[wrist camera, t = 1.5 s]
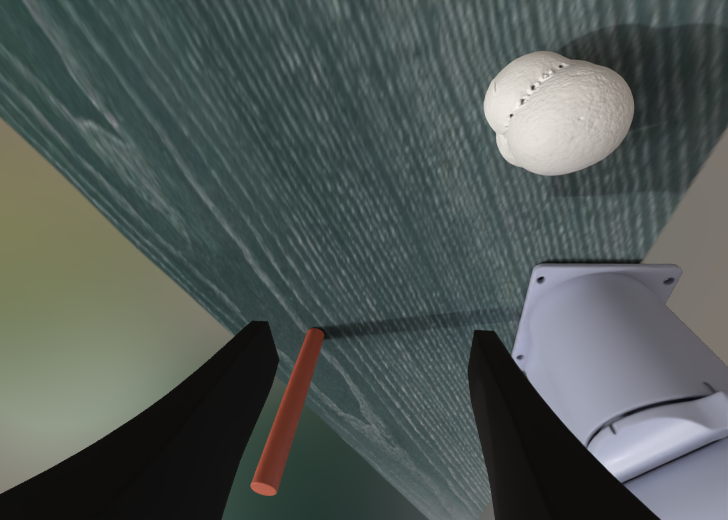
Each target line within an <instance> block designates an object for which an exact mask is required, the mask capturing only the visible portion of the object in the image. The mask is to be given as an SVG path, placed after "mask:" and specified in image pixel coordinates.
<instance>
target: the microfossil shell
mask: <svg viewBox="0 0 728 520" xmlns="http://www.w3.org/2000/svg"><path fill="white" fill-rule="evenodd" d="M484 112H485V117H486V119H487V121H488V123H489V124H490V126H491V127H492V129H493V130H494V131H495V132H496V141H497V146H498V148H499V151H500V152H501V155H502V156H503V157H504V158H505V159H506V160H507V161H508V162H509V163H511V164H513V165H515V166H518V167H523V168H525V169H526V170H528V171H530V172H533V173H536V174H540V175H550V176H551V175H562V174H567V173H571V172H575V171H578V170H581V169H584V168H586V167H589V166H591V165H593V164H595V163H597V162H599V161H601V160H603V159H604V158H605V157H607V156H608V155H609V154H610V153H612V152H613V151H614V150H615V149H616V148H617V147H618V146H619V145H620V144H621V142H622V141H623V139H624V138H625V136H626V135H627V133H628V131H629V128H630V125H631V122H632V118H633V114H634V100H633V96H632V93H631V90H630V88H629V86H628V84H627V83H626V82H625V80H624V79H623V78H622V77H621V76H620V75H619V74H618V73H616V72H615V71H613V70H611V69H609V68H607V67H603V66H599V65H595V64H593V63H590V62H587V61H582V60H570V59H568V58H566V57H564V56H562V55H560V54H557V53H554V52H550V51H538V52H533V53H529V54H526V55H524V56H522V57H519V58H517V59H515V60H513V61H512V62H511V63H510V64H508V65H507V66H506V67H505V68H503V70H501V71H500V73H499V74H498V75H497V76H496V77H495V78H494V79H493V80H492V82H491V83H490V86H489V88H488V91H487V93H486V97H485V100H484Z"/></svg>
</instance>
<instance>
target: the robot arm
mask: <svg viewBox="0 0 728 520" xmlns="http://www.w3.org/2000/svg"><path fill="white" fill-rule="evenodd" d="M681 274H682V270H681V268H680V267H678V266H677V265H675V264H539V265H537V266H535V267H534V269H533V272H532V276H531V280H530V284H529V288H528V292H527V296H526V300H525V304H524V308H523V312H522V316H521V320H520V324H519V328H518V332H517V336H516V340H515V344H514V348H513V352H512V356H511V355H510V354H509V352H508V351H507V349H506V348H505V346H504V345H503V343H502V341H501V340H500V338H499V337H498V335H497V334H496V333H495V332H494V331H486V330H474V335H473V341H472V347H471V353H470V359H469V365H468V380H469V389H470V397H471V403H472V408H473V412H474V416H475V421H476V425H477V429H478V434H479V438H480V442H481V447H482V451H483V455H484V460H485V464H486V468H487V472H488V478H489V483H490V488H491V494H492V501H493V508H494V515H495V520H728V366H727V365H725V363H723V361H722V360H720V359H719V357H717V356H716V355H715V354H714V353H713V352H712V351H711V350H710V349H709V348H708V347H707V346H706V345H705V344H704V343H703V342H702V341H701V340H700V339H699V338H698V337H697V336H696V335H695V334H694V333H693V332H692V331H691V330H690V329H689V328H688V327H687V326H686V325H685V324H684V323H683V322H682V321H681V320H680V319H679V318H678V317H677V316H676V315H675V314H674V313H673V312H672V311H671V310H670V309H669V308H668V307H667V306H666V305H665V303H666V302H667V300H668V298H669V296H670V294H671V293H672V291H673V289H674V287H675V285H676V283H677V282H678V280H679V278H680V276H681ZM539 277H543V278H542V279H541V280H537V279H538V278H539ZM667 278H669V279H668V280H666V279H667ZM665 280H666V281H665ZM519 355H520V356H519ZM278 363H279V357H278V354H277V350H276V347H275V344H274V340H273V337H272V333H271V330H270V327H269V323H268V321H251V322H250V323H249V324H248V325H247V326H246V327H244V328H243V329H242V330H241V331H240V332H239V333H238V334H237V335H236V336H235V337H234V338H233V339H232V340H230V341H229V342H228V343H227V344H226V345H225V346H224V347H223V348H221V349H220V350H219V351H218V352H217V353H216V354H215V355H214V356H213V357H211V359H209V360H208V361H207V362H206V363H205V364H203V365H202V366H201V367H200V368H199V369H198V370H196V371H195V372H194V373H193V374H191V375H190V376H189V377H188V378H186V379H185V380H184V381H183V382H182V383H181V384H179V385H178V386H177V387H176V388H174V389H173V390H172V391H170V392H169V393H168V394H167V395H165V396H164V397H163V398H161V399H160V400H158V401H157V402H156V403H154V404H153V405H151V406H150V407H149V408H148V409H146V410H145V411H143V412H142V413H140V414H139V415H137V416H136V417H134V418H133V419H131V420H130V421H128V422H127V423H125V424H123V425H122V426H120V427H119V428H117V429H116V430H114V431H113V432H111V433H110V434H108V435H106V436H105V437H103V438H102V439H100V440H98V441H97V442H96V443H94V444H92V445H90V446H89V447H87V448H85V449H83V450H82V451H80V452H78V453H77V454H75V455H73V456H71V457H70V458H68V459H66V460H64V461H62V462H61V463H59V464H57V465H55V466H53V467H52V468H50V469H48V470H46V471H44V472H42V473H40V474H38V475H37V476H35V477H33V478H31V479H29V480H27V481H25V482H23V483H21V484H19V485H17V486H15V487H13V488H11V489H9V490H7V491H5V492H3V493H2V494H0V520H221V519H222V516H223V512H224V509H225V506H226V502H227V499H228V496H229V493H230V490H231V487H232V484H233V481H234V478H235V475H236V472H237V468H238V466H239V463H240V460H241V458H242V455H243V452H244V450H245V447H246V445H247V443H248V441H249V438H250V436H251V433H252V431H253V429H254V427H255V424H256V422H257V420H258V417H259V415H260V413H261V411H262V408H263V406H264V404H265V401H266V399H267V397H268V394H269V392H270V389H271V387H272V383H273V380H274V377H275V374H276V370H277V367H278ZM522 371H525V372H526V374H527V377H528V379H527V377H526V376H525V375H524V373H523V372H522Z"/></svg>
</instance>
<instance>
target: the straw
mask: <svg viewBox="0 0 728 520" xmlns="http://www.w3.org/2000/svg"><path fill="white" fill-rule="evenodd" d="M323 339H324V333H323V332H322V331H321V330H320V329H317V328H311V329H309V330H308V332H307V334H306V337H305V340H304V342H303V345H302V348H301V350H300V353H299V356H298V359H297V361H296V364H295V367H294V369H293V372H292V375H291V378H290V380H289V383H288V386H287V388H286V391H285V394H284V396H283V400H282V402H281V405H280V407H279V410H278V413H277V416H276V419H275V421H274V424H273V426H272V429H271V432H270V434H269V437H268V440H267V443H266V445H265V448H264V451H263V454H262V456H261V459H260V462H259V464H258V467H257V469H256V472H255V475H254V478H253V480H252V483H251V488H252V489H253V490H254V491H255V492H257V493H259V494H262V495H268V496H270V495H275V494H276V493H277V490H278V487H279V484H280V480H281V477H282V474H283V471H284V467H285V464H286V461H287V458H288V454H289V451H290V447H291V444H292V441H293V438H294V435H295V431H296V428H297V424H298V421H299V418H300V414H301V412H302V408H303V405H304V402H305V398H306V395H307V392H308V389H309V385H310V382H311V379H312V375H313V372H314V369H315V365H316V362H317V359H318V356H319V352H320V349H321V346H322V342H323Z"/></svg>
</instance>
